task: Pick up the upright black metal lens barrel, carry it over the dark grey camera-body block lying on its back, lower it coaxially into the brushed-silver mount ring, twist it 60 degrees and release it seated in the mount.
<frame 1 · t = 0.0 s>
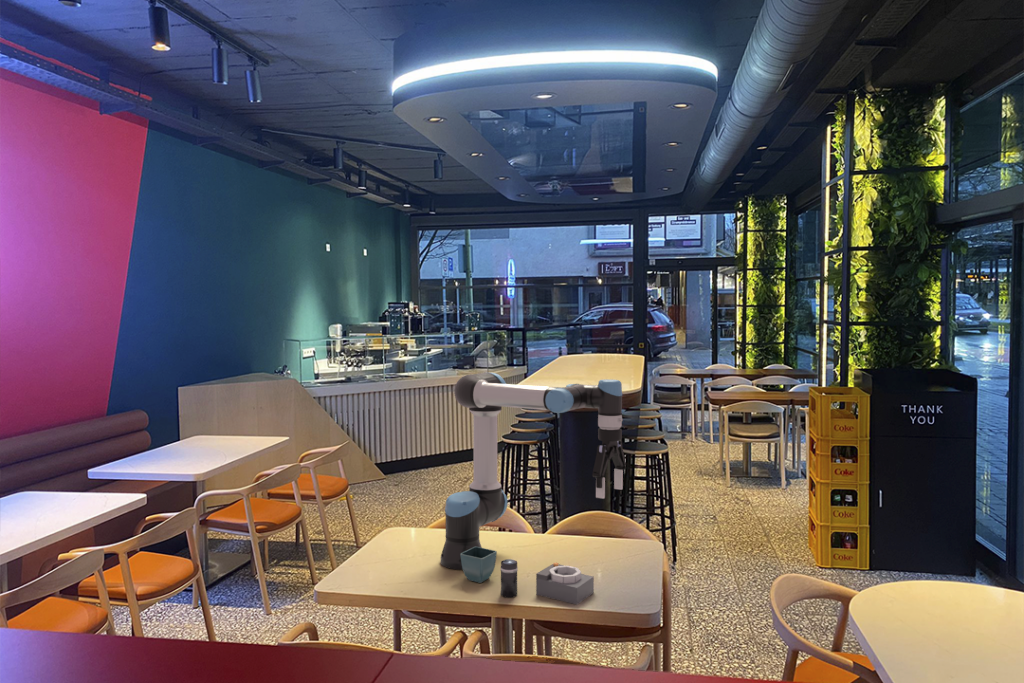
hand: (609, 493, 229), 28 cm above the table, fingers open, 13 cm apart
flower pot: (478, 580, 230), on the table
camera body: (565, 593, 218), on the table
lens: (509, 594, 217), on the table
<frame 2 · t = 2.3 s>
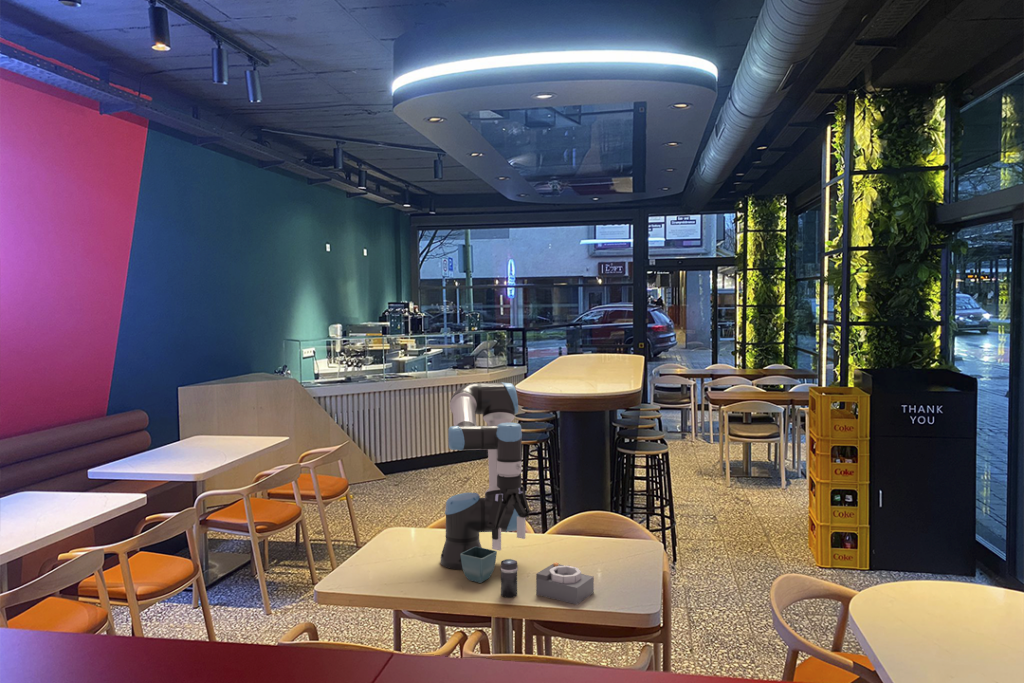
hand: (509, 543, 217), 16 cm above the table, fingers open, 13 cm apart
nothing on the table moved.
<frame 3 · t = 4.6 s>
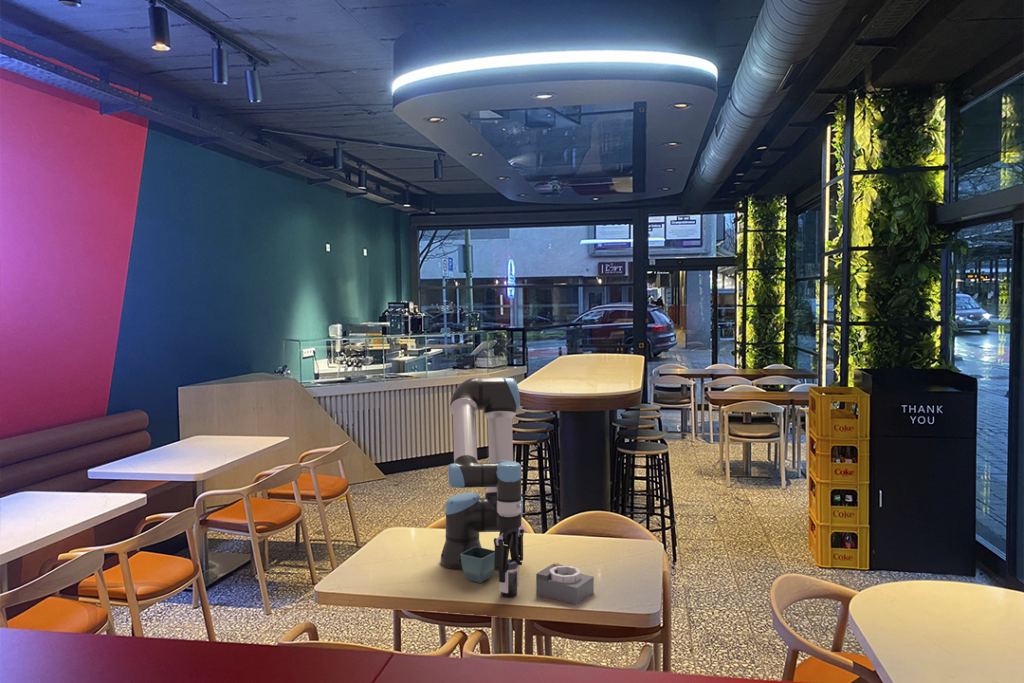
hand: (509, 588, 217), 2 cm above the table, fingers closed on lens, 5 cm apart
lens: (509, 594, 217), on the table, touching gripper
everything else where it was.
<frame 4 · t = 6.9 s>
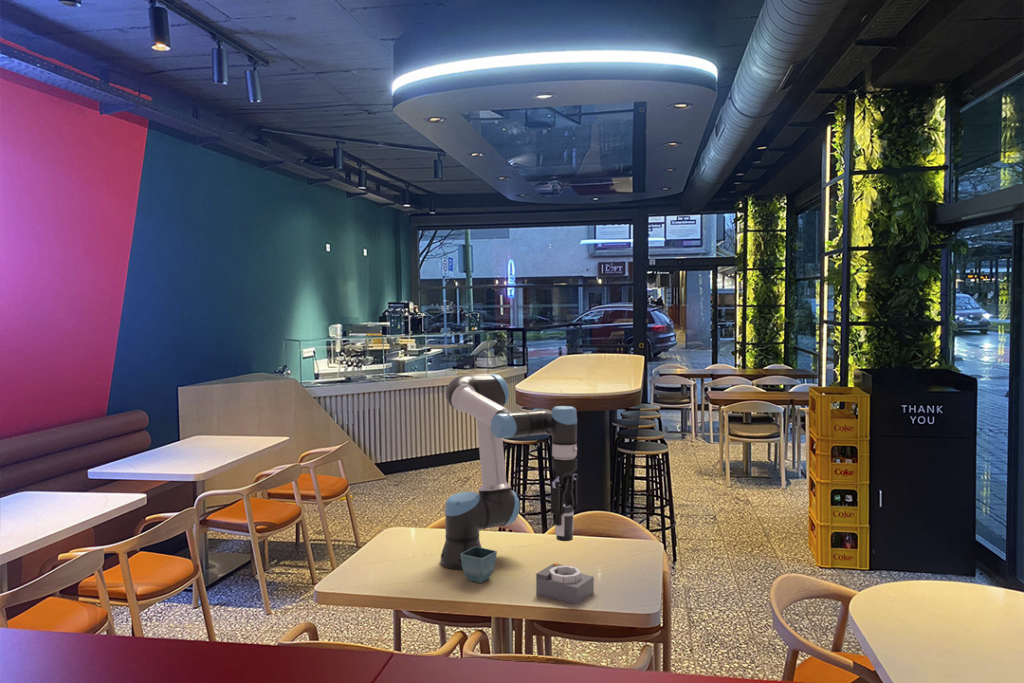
hand: (564, 532, 217), 19 cm above the table, fingers closed on lens, 5 cm apart
lens: (564, 538, 217), point 17 cm above the table, touching gripper
everything else where it was.
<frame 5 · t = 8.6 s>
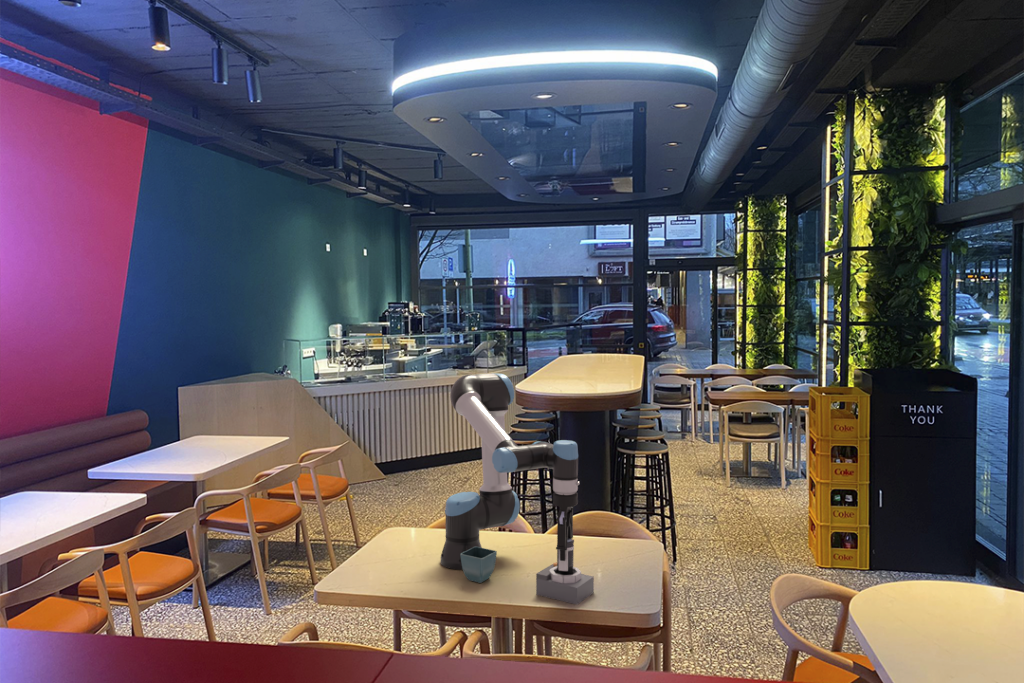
hand: (565, 566, 218), 8 cm above the table, fingers closed on lens, 5 cm apart
lens: (565, 572, 218), point 6 cm above the table, touching gripper
everything else where it was.
when the fingers open (8 cm above the table, at t = 9.7 s): lens drops 1 cm, resting on camera body.
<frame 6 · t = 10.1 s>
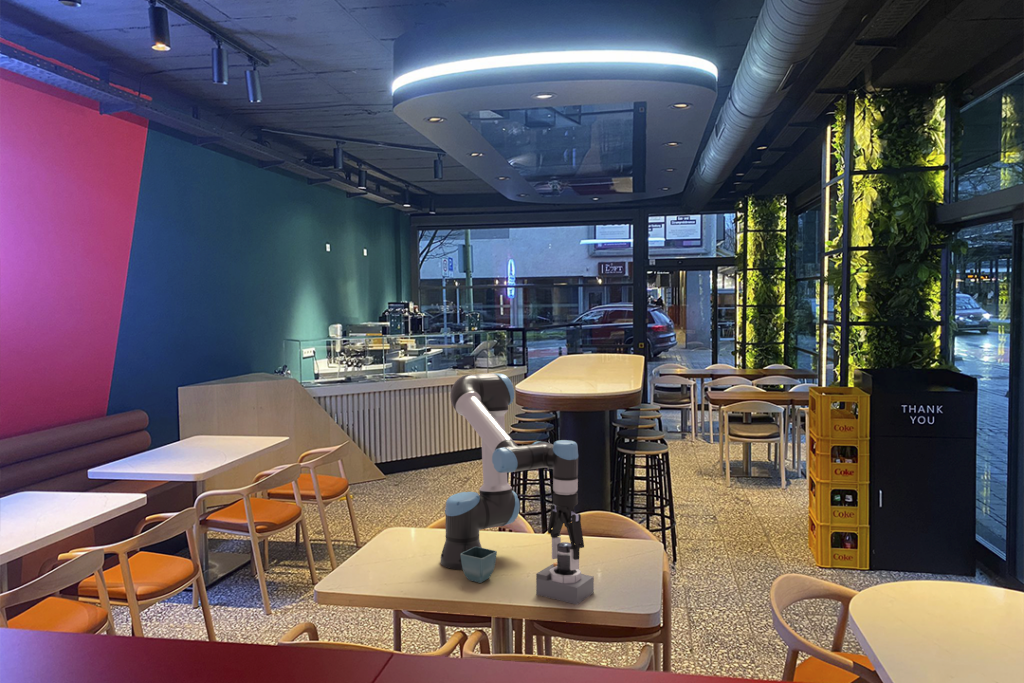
hand: (565, 563, 218), 9 cm above the table, fingers open, 10 cm apart
lens: (565, 577, 218), point 5 cm above the table, touching camera body
everything else where it was.
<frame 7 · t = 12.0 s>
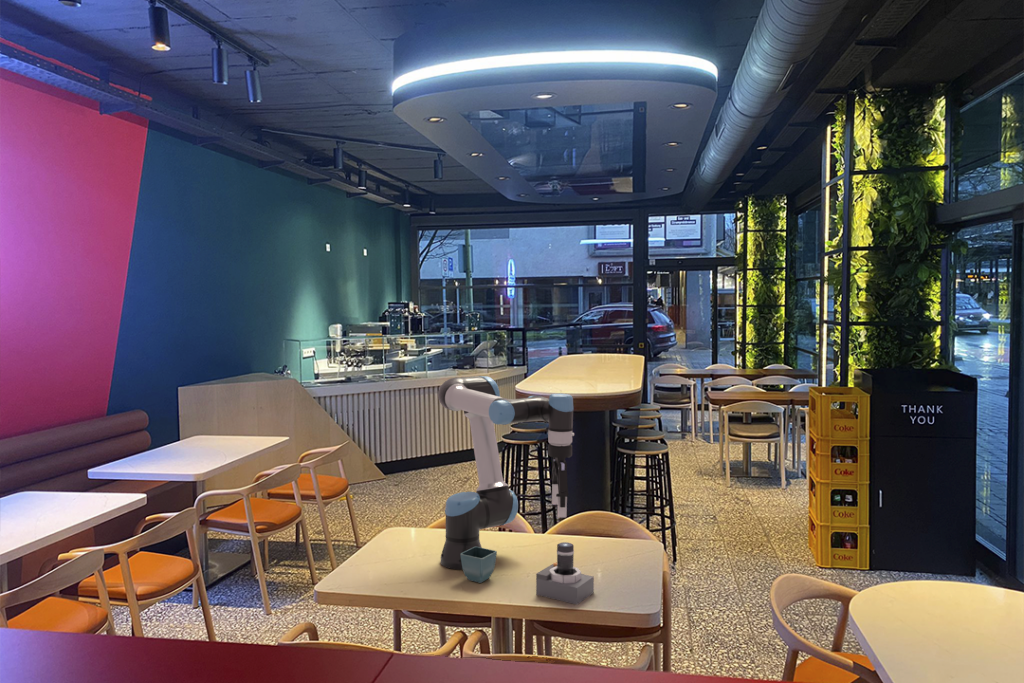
hand: (558, 510, 223), 24 cm above the table, fingers open, 13 cm apart
nothing on the table moved.
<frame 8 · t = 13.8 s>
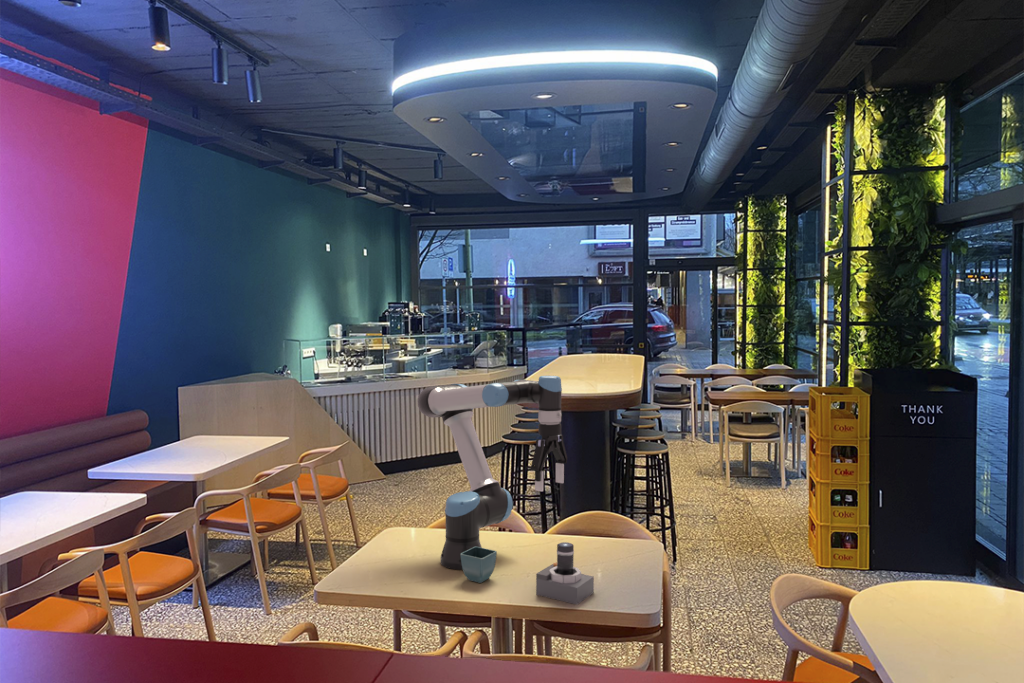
hand: (549, 486, 235), 29 cm above the table, fingers open, 13 cm apart
nothing on the table moved.
at the end: lens 0.0 cm off-centre on the camera body, point 5.0 cm above the camera body's base; lens tilted 0°; the gripper is holding nothing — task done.
